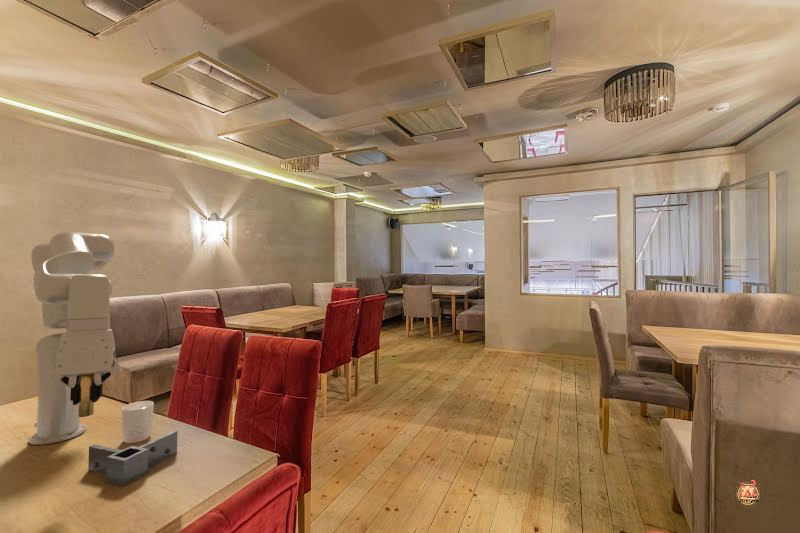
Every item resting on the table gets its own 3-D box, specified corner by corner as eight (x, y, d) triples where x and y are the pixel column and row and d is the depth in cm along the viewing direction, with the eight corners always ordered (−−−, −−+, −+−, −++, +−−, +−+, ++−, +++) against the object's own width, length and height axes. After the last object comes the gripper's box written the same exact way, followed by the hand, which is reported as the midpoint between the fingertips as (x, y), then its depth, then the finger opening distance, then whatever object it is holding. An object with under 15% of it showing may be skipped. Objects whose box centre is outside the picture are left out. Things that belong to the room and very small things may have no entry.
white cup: (135, 445, 101) (136, 411, 101) (113, 443, 102) (114, 409, 103) (159, 433, 109) (160, 401, 109) (138, 431, 110) (139, 399, 110)
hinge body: (77, 475, 86) (78, 450, 86) (141, 445, 101) (142, 425, 101) (123, 486, 81) (123, 460, 81) (183, 453, 96) (183, 432, 96)
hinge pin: (70, 417, 82) (72, 361, 82) (90, 410, 85) (91, 358, 86) (81, 419, 80) (83, 362, 81) (101, 412, 84) (102, 359, 85)
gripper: (35, 329, 77) (32, 413, 76) (126, 325, 84) (124, 401, 83) (50, 325, 83) (48, 402, 83) (133, 321, 91) (132, 392, 90)
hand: (86, 401), depth 83 cm, fingers closed on hinge pin, 2 cm apart
